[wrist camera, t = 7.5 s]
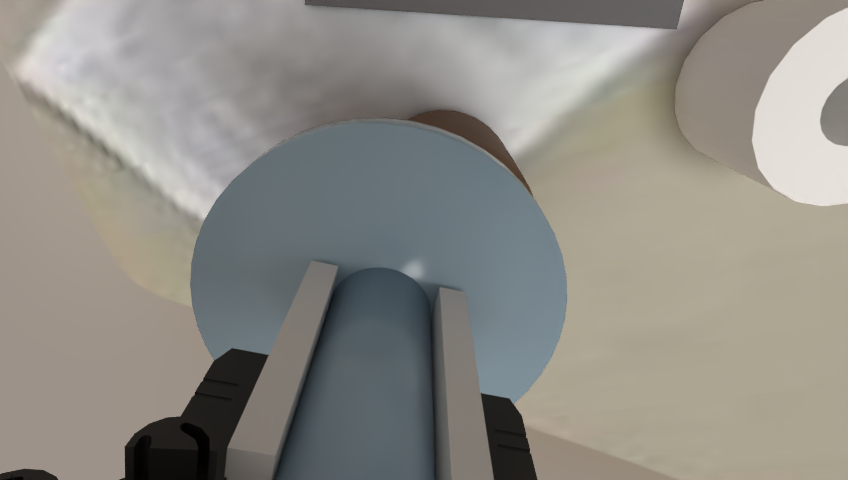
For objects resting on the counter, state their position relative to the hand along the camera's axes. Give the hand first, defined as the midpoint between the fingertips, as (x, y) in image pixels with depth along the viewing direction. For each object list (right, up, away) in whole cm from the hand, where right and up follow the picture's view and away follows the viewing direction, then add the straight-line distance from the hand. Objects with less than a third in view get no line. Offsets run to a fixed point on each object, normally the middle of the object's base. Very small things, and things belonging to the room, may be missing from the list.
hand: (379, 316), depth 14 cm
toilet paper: (+20, +11, +12) cm, 26 cm away
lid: (0, +1, +1) cm, 1 cm away
